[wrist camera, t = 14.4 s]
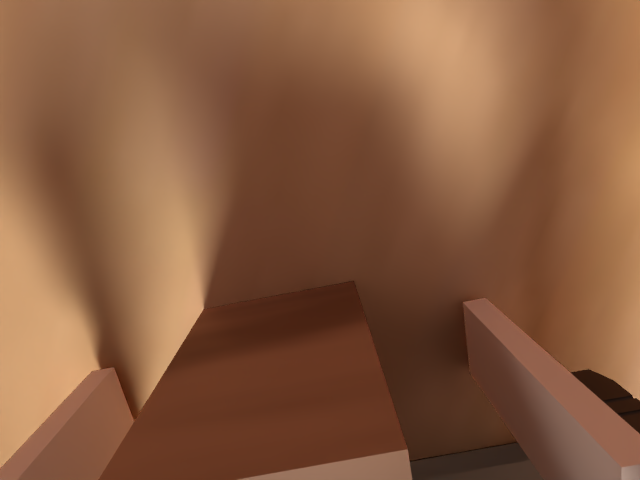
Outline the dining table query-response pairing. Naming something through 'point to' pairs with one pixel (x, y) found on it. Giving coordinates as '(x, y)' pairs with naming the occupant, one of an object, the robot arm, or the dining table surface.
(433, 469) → the carton
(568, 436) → the robot arm
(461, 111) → the dining table surface
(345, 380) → the walnut block
